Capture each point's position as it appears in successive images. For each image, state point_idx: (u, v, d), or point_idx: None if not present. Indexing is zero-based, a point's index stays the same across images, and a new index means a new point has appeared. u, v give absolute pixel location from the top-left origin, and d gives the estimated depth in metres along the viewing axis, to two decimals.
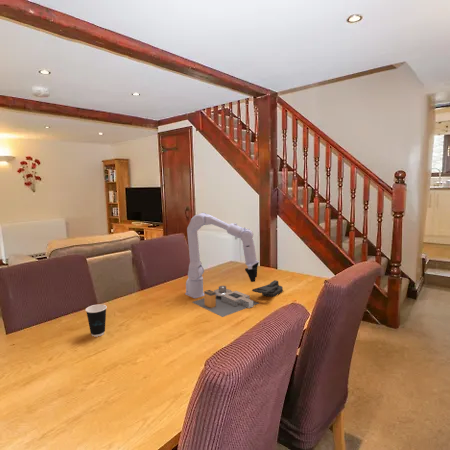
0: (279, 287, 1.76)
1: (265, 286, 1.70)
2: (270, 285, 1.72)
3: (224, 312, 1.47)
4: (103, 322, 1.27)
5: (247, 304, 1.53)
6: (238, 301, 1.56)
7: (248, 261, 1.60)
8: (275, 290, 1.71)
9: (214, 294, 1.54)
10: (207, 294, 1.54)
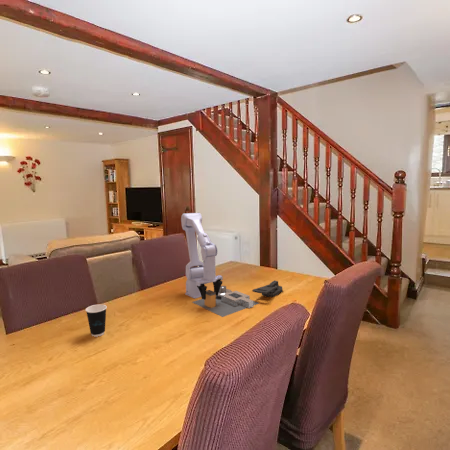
0: (279, 287, 1.76)
1: (265, 286, 1.69)
2: (270, 285, 1.72)
3: (224, 312, 1.47)
4: (103, 322, 1.27)
5: (247, 304, 1.53)
6: (238, 301, 1.56)
7: (204, 277, 1.53)
8: (275, 290, 1.71)
9: (214, 294, 1.54)
10: (207, 294, 1.54)
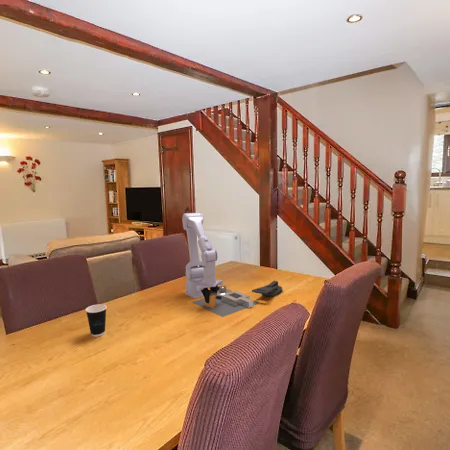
0: (279, 287, 1.75)
1: (265, 286, 1.69)
2: (270, 285, 1.71)
3: (224, 312, 1.47)
4: (103, 322, 1.27)
5: (247, 304, 1.53)
6: (238, 301, 1.56)
7: (204, 282, 1.53)
8: (275, 290, 1.71)
9: (214, 294, 1.54)
10: None
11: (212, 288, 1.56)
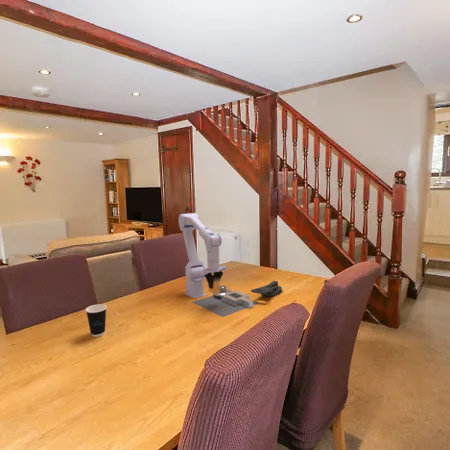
0: (278, 287, 1.75)
1: (264, 286, 1.69)
2: (269, 285, 1.71)
3: (224, 312, 1.47)
4: (103, 322, 1.27)
5: (247, 304, 1.53)
6: (238, 301, 1.56)
7: None
8: (274, 290, 1.70)
9: (218, 280, 1.53)
10: None
11: (216, 273, 1.56)
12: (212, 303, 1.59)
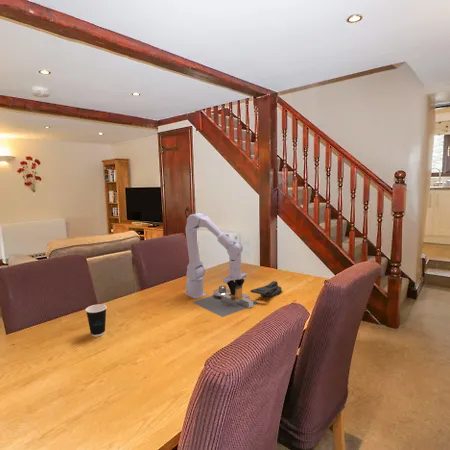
0: (278, 288, 1.75)
1: (264, 287, 1.69)
2: (269, 286, 1.71)
3: (224, 312, 1.47)
4: (103, 322, 1.27)
5: (247, 304, 1.53)
6: (238, 301, 1.56)
7: (230, 274, 1.58)
8: (274, 291, 1.70)
9: (241, 287, 1.58)
10: None
11: (237, 281, 1.61)
12: (212, 303, 1.59)
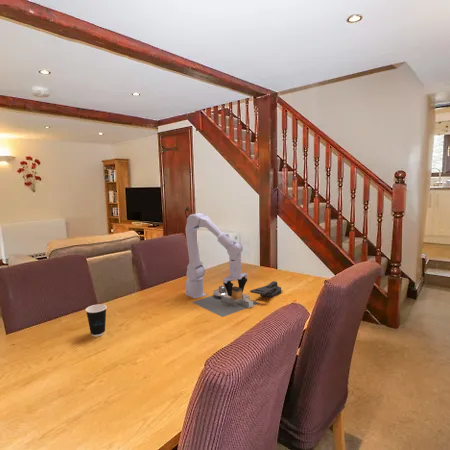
0: (278, 288, 1.74)
1: (263, 287, 1.68)
2: (269, 286, 1.71)
3: (224, 312, 1.47)
4: (103, 322, 1.27)
5: (247, 304, 1.53)
6: (238, 301, 1.56)
7: (230, 274, 1.58)
8: (274, 291, 1.70)
9: (241, 290, 1.59)
10: (234, 290, 1.59)
11: (240, 280, 1.62)
12: (212, 303, 1.59)
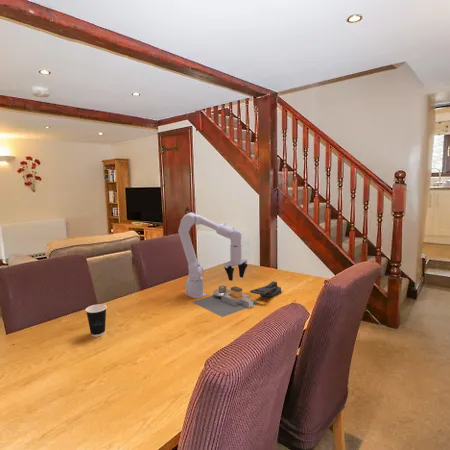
0: (278, 288, 1.74)
1: (263, 287, 1.68)
2: (268, 286, 1.70)
3: (224, 312, 1.47)
4: (103, 322, 1.27)
5: (247, 304, 1.53)
6: (238, 301, 1.56)
7: (230, 260, 1.66)
8: (273, 291, 1.69)
9: (241, 290, 1.59)
10: (234, 290, 1.59)
11: (241, 265, 1.70)
12: (212, 303, 1.59)
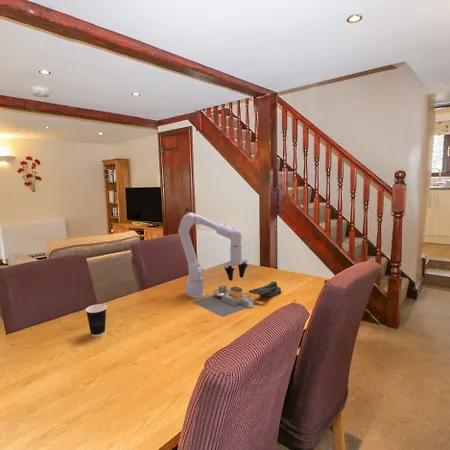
0: (277, 288, 1.74)
1: (263, 287, 1.68)
2: (268, 286, 1.70)
3: (224, 312, 1.47)
4: (103, 322, 1.27)
5: (247, 304, 1.53)
6: (238, 301, 1.56)
7: (230, 260, 1.66)
8: (273, 291, 1.69)
9: (241, 290, 1.59)
10: (234, 290, 1.59)
11: (241, 265, 1.70)
12: (212, 303, 1.59)
